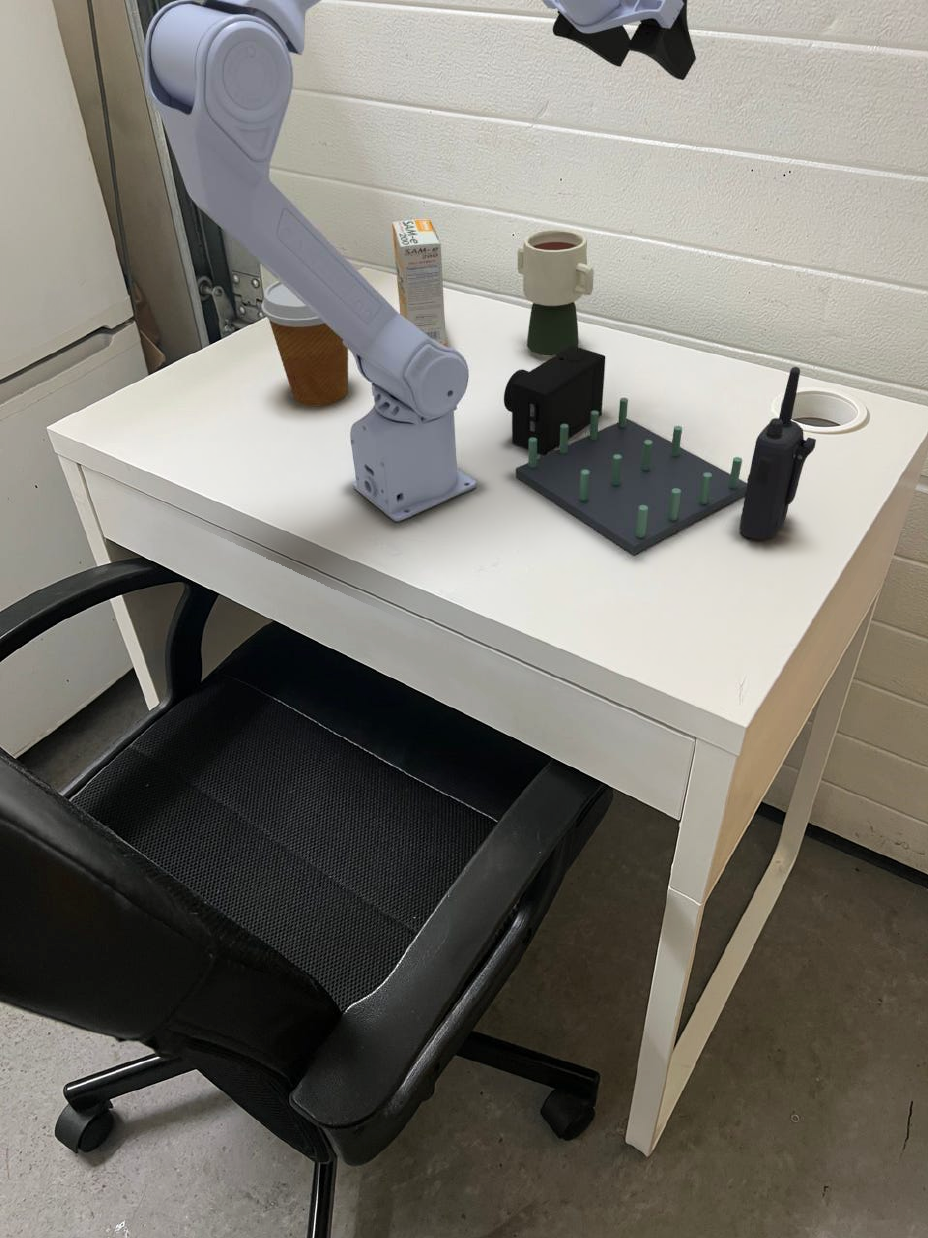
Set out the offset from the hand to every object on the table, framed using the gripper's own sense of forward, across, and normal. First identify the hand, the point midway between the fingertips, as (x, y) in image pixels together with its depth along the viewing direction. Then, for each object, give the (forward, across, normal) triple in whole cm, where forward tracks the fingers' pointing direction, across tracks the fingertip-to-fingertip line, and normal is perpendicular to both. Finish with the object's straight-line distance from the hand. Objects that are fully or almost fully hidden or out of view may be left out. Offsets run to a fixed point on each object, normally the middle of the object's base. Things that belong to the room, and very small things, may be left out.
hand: (654, 61), depth 82 cm
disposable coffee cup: (+2, +23, +41) cm, 47 cm away
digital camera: (+13, 0, +32) cm, 34 cm away
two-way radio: (+15, -26, +30) cm, 42 cm away
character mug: (+22, +14, +24) cm, 35 cm away
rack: (+12, -13, +32) cm, 37 cm away
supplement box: (+15, +27, +30) cm, 43 cm away
